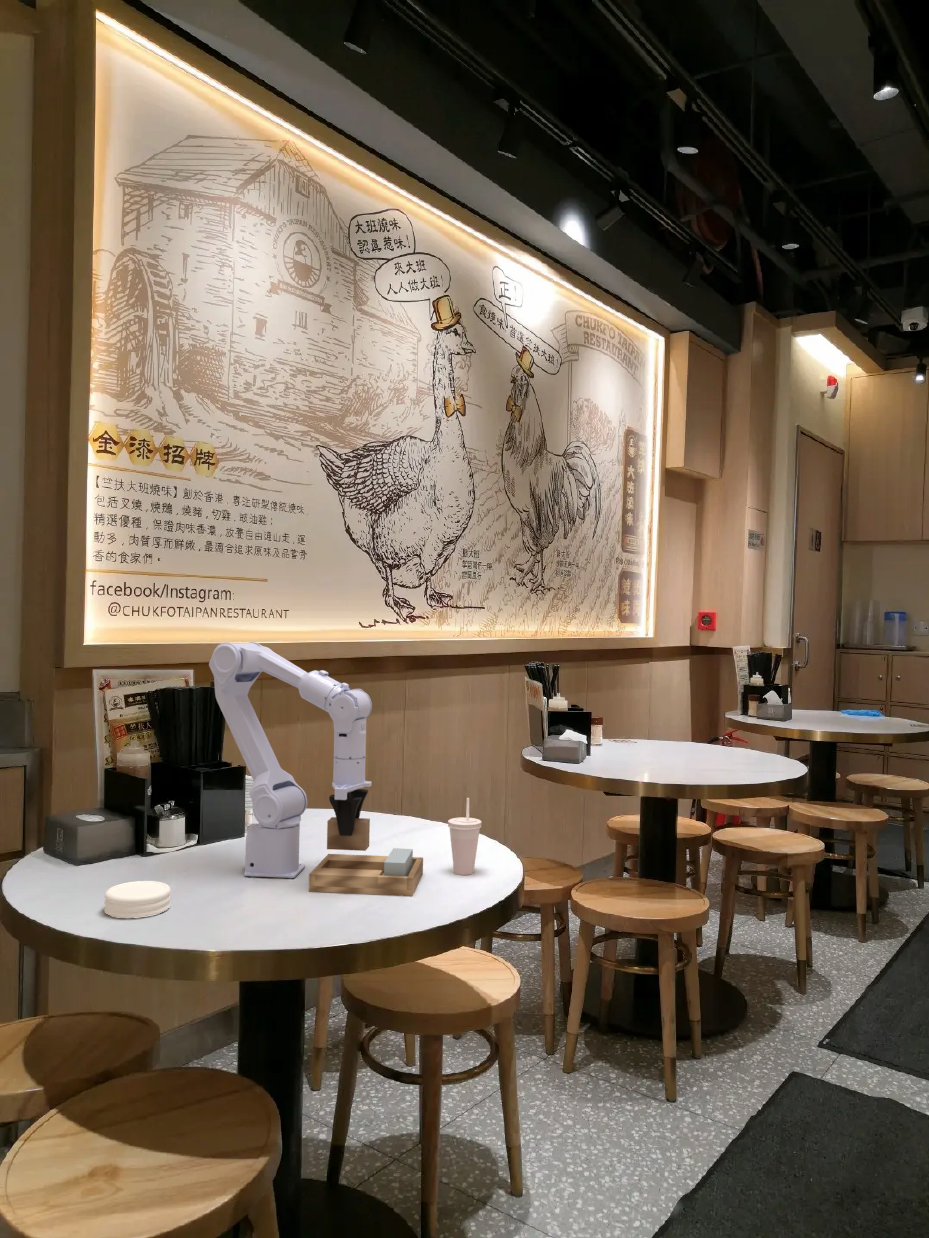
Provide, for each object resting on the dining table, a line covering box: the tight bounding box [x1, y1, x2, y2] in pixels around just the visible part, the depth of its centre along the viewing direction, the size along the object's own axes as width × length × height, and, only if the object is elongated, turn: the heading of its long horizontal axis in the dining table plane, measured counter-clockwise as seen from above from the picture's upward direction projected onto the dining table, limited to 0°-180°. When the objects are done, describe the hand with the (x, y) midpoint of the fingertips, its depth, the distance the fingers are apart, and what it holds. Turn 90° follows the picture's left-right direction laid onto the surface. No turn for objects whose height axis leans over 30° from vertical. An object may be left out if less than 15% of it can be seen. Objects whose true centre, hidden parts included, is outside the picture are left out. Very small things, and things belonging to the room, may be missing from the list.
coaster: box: [103, 880, 172, 918], centre depth 142 cm, size 10×10×4 cm
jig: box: [308, 853, 424, 897], centre depth 159 cm, size 18×14×3 cm
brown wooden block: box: [326, 816, 371, 852], centre depth 159 cm, size 7×3×5 cm, turn 85°
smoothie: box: [447, 797, 482, 876], centre depth 167 cm, size 6×6×14 cm
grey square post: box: [384, 847, 414, 877], centre depth 159 cm, size 4×10×4 cm, turn 176°
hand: (348, 832), depth 159 cm, fingers closed on brown wooden block, 3 cm apart
